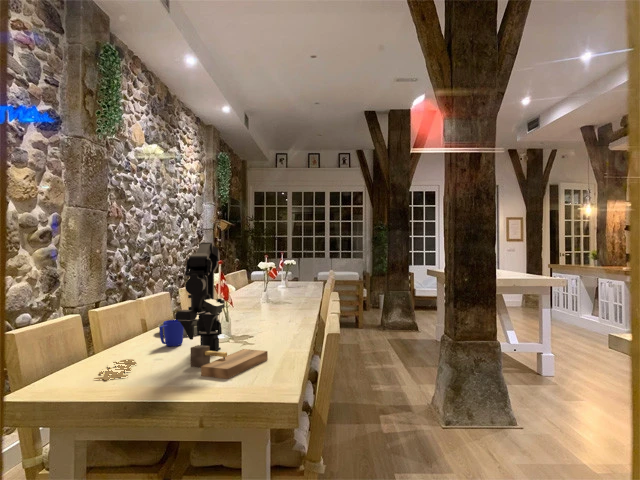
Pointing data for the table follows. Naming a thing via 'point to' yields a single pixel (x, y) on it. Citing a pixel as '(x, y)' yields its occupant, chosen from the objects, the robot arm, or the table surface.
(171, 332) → the mug
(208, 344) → the robot arm
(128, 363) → the lettering
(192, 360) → the mallet
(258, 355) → the plank
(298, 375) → the table surface
